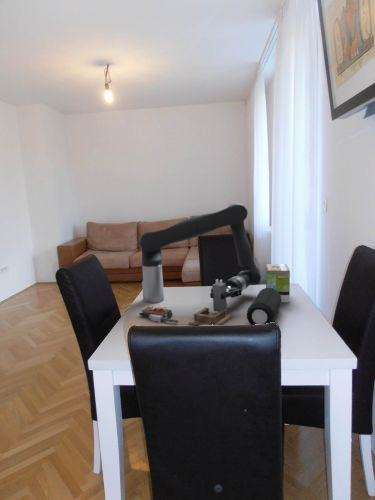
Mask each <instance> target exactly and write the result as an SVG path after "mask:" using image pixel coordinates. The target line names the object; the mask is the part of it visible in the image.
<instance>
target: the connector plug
mask: <svg viewBox="0 0 375 500" xmlns="http://www.w3.org/2000/svg"><path fill="white" fill-rule="evenodd" d="M212 287H213V298H212V304H213V305H212V307H213V312H217V313H218V312H220V311H221V310H225V311H227V310H228V308H227V306H228V305H227V304H228V303H227V298H225V299H223V300H222V299H221V296H220V295H221V294H222V293H224V292H226V283H224V282H223V279H220V280H219V279H218V278H217V279H215V283H213V284H212Z"/></svg>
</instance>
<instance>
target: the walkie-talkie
mask: <svg viewBox="0 0 375 500" xmlns="http://www.w3.org/2000/svg"><path fill="white" fill-rule="evenodd" d="M139 316H142V318H147V319H150V320H151V321H153V322H158V323H161V322H169V323H179V320H177V319H172V318H171V317H173V311H172V310H171V309H168V308H167V307H166V306H160V305H158V306H156V307H154V305H153V306H147V307H146V308H144V309H142V310H141V312H139Z"/></svg>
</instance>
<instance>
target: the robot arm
mask: <svg viewBox="0 0 375 500" xmlns="http://www.w3.org/2000/svg"><path fill="white" fill-rule="evenodd" d="M247 218H248V209H247V207H246V206H245V205H243V204H241V203H232V204H229V206H227V207H226V208H224V209H221V210H218V211H216V212H212V213H206V214H200V215H195V216H192V217H190V218H189V217H188V218H186V219H183V220H181V221H179V222H177V223H175V224H173V225H170V226H169V227H167V228H164V229H160V230H155V231H154V230H147V231H145V232H143V234H142V235H141V237H140V240H139V245H140V247H141V264H142V279H143V280H142V281H141V287H142V288H141V289H142V300H143V301H145V302H146V303H152V304H153V303H161V302H163V301H164V299H165V295H164V294H165V293H164V291H165V290H164V280H163V279H164V278H163V264H162V263H163V261H162V248H163V247H166V246H169V245H171V244H174V243H178V242H179V243H180V242H183V241H187V240H190V239H195V238H197V237H200V236H202V235H206V234H208V233H211V232H213V231H215V230H217V229H220V228H224V227H228V226H229V227H230V229H231V232H232V236H233V241H234V246H235V250H236V257H237V262H238V266H240V267H242V268H243V267H244V268H247V269H248V270H241V271H239V272H238V274H237V275H236V276H233V277H231V278H229V279H227V280H225V281H224V282H223V283H226V292H224V293H222V294H221V295H220V296H221V299H222V300H223V299H225V298H226V299H227V298H230V299H231V298H237V297H239V296H242V292H243V291H244V290H246V289H247V288H248V287H249V286H254V285H258V284H260V282H261V279H262V277H261V273H260V271H259V269H258V267H257V265H256V263H255V261H254V257H253V252H252V248H251V244H250V241H249V239H248V235H247V232H246V227H245V220H246V219H247ZM209 297H210V298H211V299H213V286H212V287H211V288H210V293H209Z"/></svg>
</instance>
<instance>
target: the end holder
mask: <svg viewBox="0 0 375 500" xmlns="http://www.w3.org/2000/svg"><path fill="white" fill-rule="evenodd" d="M226 311H227V310H221V311H220V312H217V313H216V312H212V311H211V312H210V308H209V307H204V308H202V309H201V310H199V311H198V312H195V313H194V314H193V318H192V319H190V320H189V321H187V324H188V325H191V326H196V325H212V324H213V325H221V326H222V325H224V324H225V323H226V321H227V320H228V321H229V320H230V318H231V319H232V315H229V314H226ZM228 321H227V322H228ZM224 322H225V323H224ZM223 323H224V324H223Z"/></svg>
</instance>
